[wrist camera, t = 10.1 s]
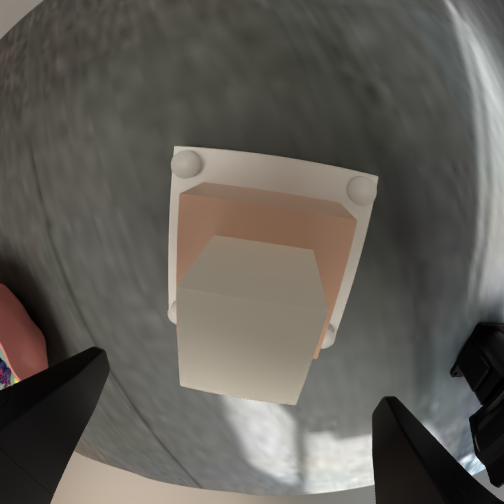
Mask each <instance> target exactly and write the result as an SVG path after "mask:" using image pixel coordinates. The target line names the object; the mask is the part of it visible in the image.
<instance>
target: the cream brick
mask: <svg viewBox="0 0 504 504" xmlns="http://www.w3.org/2000/svg"><path fill="white" fill-rule="evenodd" d="M176 302H177V339H178V360H179V376H180V386H184V387H188V388H192V389H197V390H201V391H206V392H211V393H216V394H221V395H226V396H232V397H237V398H244V399H250V400H257V401H264V402H272V403H280V404H290V405H296V403H297V400H298V398H299V395H300V393H301V390H302V387H303V385H304V382H305V379H306V377H307V374H308V371H309V368H310V365H311V363H312V360H313V357H314V354H315V351H316V348H317V345H318V342H319V339H320V336H321V333H322V330H323V326H324V323H325V320H326V317H327V313H328V307H327V303H326V298H325V294H324V290H323V286H322V282H321V278H320V274H319V270H318V266H317V262H316V259H315V255H314V251H313V250H311V249H304V248H298V247H291V246H285V245H278V244H272V243H265V242H259V241H252V240H245V239H239V238H232V237H225V236H218V235H214V236H213V237H212V239H211V240H210V241H209V243H208V244H207V245H206V247H205V248H204V249H203V251H202V252H201V253H200V255H199V256H198V257H197V259H196V260H195V261H194V263H193V264H192V266H191V267H190V268H189V270H188V271H187V272H186V274H185V275H184V276H183V278H182V279H181V281H180V282H179V283H178V285H177V286H176Z"/></svg>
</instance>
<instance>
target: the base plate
mask: <svg viewBox="0 0 504 504" xmlns="http://www.w3.org/2000/svg"><path fill="white" fill-rule="evenodd" d="M171 169H172V181H171V197H170V218H169V256H168V286H169V310H168V317H169V319H170V320H171V321H172V322H173V323H174V324H177V302H176V286H177V285H178V283H179V282H180V281H181V279H182V278H183V276H184V275H185V274H186V272H187V271H188V270H189V268H190V267H191V266H192V264H193V263H194V261H195V260H196V259H197V257H198V256H199V255H200V253H201V252H202V251H203V249H204V248H205V247H206V245H207V244H208V243H209V241H210V240H211V239H212V237H213V236H214V235H218V236H225V237H232V238H239V239H245V240H252V241H259V242H265V243H272V244H278V245H285V246H291V247H298V248H304V249H311V250H313V251H314V255H315V259H316V262H317V266H318V270H319V274H320V278H321V282H322V286H323V290H324V294H325V298H326V303H327V307H328V313H327V317H326V320H325V323H324V326H323V330H322V333H321V336H320V339H319V342H318V345H317V348H316V351H315V354H314V357H313V359H317V357H318V354H319V352H320V349H324V348H328V347H330V346H331V345H332V344H333V343H334V341H335V335H336V332H337V330H338V327H339V324H340V321H341V318H342V315H343V312H344V309H345V306H346V303H347V300H348V297H349V293H350V290H351V287H352V284H353V280H354V277H355V274H356V270H357V267H358V263H359V259H360V256H361V252H362V248H363V244H364V241H365V237H366V233H367V229H368V224H369V220H370V216H371V211H372V207H373V202H374V200H375V198H376V195H377V189H376V188H377V183H378V178H379V177H378V176H375V175H372V174H369V173H364V172H360V171H356V170H351V169H347V168H342V167H337V166H332V165H327V164H322V163H317V162H311V161H306V160H300V159H294V158H288V157H281V156H275V155H268V154H260V153H253V152H245V151H236V150H227V149H216V148H205V147H192V146H174V156H173V158H172V161H171Z"/></svg>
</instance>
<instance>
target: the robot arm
mask: <svg viewBox="0 0 504 504" xmlns="http://www.w3.org/2000/svg"><path fill="white" fill-rule="evenodd" d="M109 372H110V366H109V362H108V358H107V354H106V351H105V350H104V349H101V348H98V347H91V348H89V349H87V350H85V351H83V352H81V353H79V354H77V355H74V356H72V357H70V358H68V359H66V360H64V361H62V362H60V363H58V364H56V365H53V366H51V367H49V368H47V369H45V370H43V371H41V372H39V373H36V374H34V375H32V376H30V377H28V378H26V379H24V380H21V381H19V382H17V383H15V384H13V385H12V386H8V387H6V388H4V389H2V390H0V504H50V503H51V500H52V498H53V496H54V495H53V494H54V493H55V491H56V488H57V486H58V483H59V481H60V479H61V477H62V474H63V473H64V470H65V468H66V466H67V464H68V462H69V460H70V457H71V455H72V453H73V451H74V449H75V447H76V445H77V443H78V441H79V439H80V437H81V435H82V433H83V431H84V429H85V427H86V425H87V423H88V421H89V419H90V417H91V415H92V414H93V412H94V409H95V407H96V405H97V403H98V400H99V397H100V395H101V392H102V390H103V387H104V385H105V382H106V380H107V377H108V375H109ZM450 375H451V376H452V377H462V376H464V377H465V379H466V381H467V383H468V384H469V386H470V388H471V390H472V391H473V392H474V393H475V395H476V396H477V398H478V400H479V402H480V404H481V405H483V406H482V407H481V408H480V409H479V410H478V411H477V412H476V413H475V414H473V415H472V416H470V417H469V422H470V428H471V433H472V439H473V444H474V450H475V455H476V456H477V458H478V459H479V460H480V462H481V463H482V464H483V465H485V467H486V469H487V472H488V476H489V479H490V482H491V484H493V485H494V486H495V487H498V488H499V487H501V486H502V485H504V324H495V323H480V324H478V325H477V327H476V329H475V330H474V332H473V334H472V336H471V338H470V340H469V342H468V343H467V345H466V347H465V349H464V351H463V352H462V354H461V356H460V357H459V359H458V361H457V362H456V364H455V366H454V367H453V369H452V370H451V372H450ZM372 458H373V469H374V481H375V495H376V504H504V502H503V501H501V500H500V499H498V498H497V497H496V496H495V495H493V494H492V493H491V492H489V491H488V490H487V489H486V488H485V487H484V486H482V485H481V484H480V483H479V482H478V481H477V480H476V479H474V478H473V477H472V476H471V475H470V474H469V473H468V472H467V471H466V470H465V469H464V468H463V467H462V466H461V465H460V464H459V463H458V462H457V461H456V459H455V458H454V457H453V456H452V455H451V454H450V453H449V452H448V451H447V450H446V449H445V448H444V447H443V446H442V445H441V444H440V443H439V442H438V440H437V439H436V438H435V437H434V436H433V435H432V434H431V433H430V432H429V431H428V430H427V429H426V428H425V427H424V426H423V425H422V424H421V423H420V422H419V421H418V419H417V418H416V417H415V416H414V415H413V414H412V413H411V412H410V411H409V410H408V409H407V408H406V407H405V406H404V405H403V404H402V403H401V402H400V401H399V400H398V399H397V398H396V397H394V396H386V397H383V398H382V399H381V401H380V402H379V404H378V406H377V407H376V408H375V410H374V412H373V415H372Z"/></svg>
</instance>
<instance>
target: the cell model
mask: <svg viewBox="0 0 504 504" xmlns="http://www.w3.org/2000/svg"><path fill="white" fill-rule="evenodd" d="M47 368H48V357H47V347H46V340H45V337H44V335H43V333H42V332H41V330H40V329H39V327H38V326H37V325H36V324H35V323H34V321H33V320H32V319H31V317H30V316H29V314H28V312H27V310H26V308H25V307H24V305H23V304H22V302H21V301H20V300H19V299H18V298H17V297H16V296H15V295H14V294H13V293H12V292H11V290H10V289H8V288H7V287H6V286H5V285H4V284H2V283H0V390H2V389H4V388H6V387H8V386H12V385H13V384H15V383H17V382H19V381H21V380H24V379H26V378H28V377H30V376H32V375H34V374H36V373H39V372H41V371H43V370H45V369H47Z"/></svg>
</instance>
